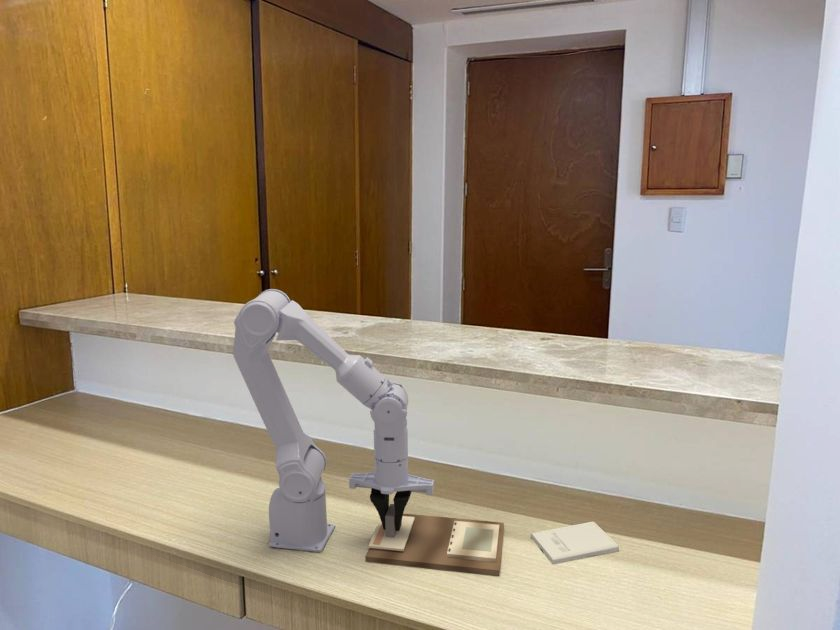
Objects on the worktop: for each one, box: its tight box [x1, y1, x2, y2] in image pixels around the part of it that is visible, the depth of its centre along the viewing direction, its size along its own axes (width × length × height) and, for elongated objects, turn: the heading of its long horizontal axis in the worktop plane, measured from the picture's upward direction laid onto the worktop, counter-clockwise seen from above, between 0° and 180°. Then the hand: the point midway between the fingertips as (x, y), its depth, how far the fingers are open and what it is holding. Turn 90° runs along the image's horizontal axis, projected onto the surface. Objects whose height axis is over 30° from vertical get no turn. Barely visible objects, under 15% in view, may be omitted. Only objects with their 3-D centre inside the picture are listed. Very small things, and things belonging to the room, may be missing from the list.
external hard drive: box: [530, 521, 620, 565], centre depth 110 cm, size 2×8×12 cm
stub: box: [368, 503, 415, 551], centre depth 111 cm, size 6×10×4 cm, turn 170°
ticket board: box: [364, 512, 505, 577], centre depth 110 cm, size 22×14×2 cm, turn 80°
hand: (392, 527), depth 111 cm, fingers closed
